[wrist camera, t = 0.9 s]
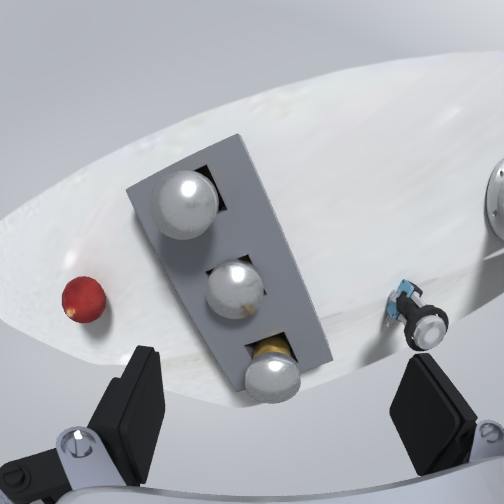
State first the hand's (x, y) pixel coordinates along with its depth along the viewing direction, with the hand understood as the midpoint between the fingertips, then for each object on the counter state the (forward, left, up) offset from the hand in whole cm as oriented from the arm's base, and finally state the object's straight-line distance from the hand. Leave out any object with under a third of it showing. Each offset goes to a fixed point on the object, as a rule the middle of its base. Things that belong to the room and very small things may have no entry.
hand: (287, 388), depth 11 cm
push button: (-11, +16, -27) cm, 33 cm away
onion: (+25, -1, -27) cm, 37 cm away
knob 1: (+6, -6, -23) cm, 25 cm away
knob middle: (+6, +4, -26) cm, 27 cm away
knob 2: (+6, +14, -23) cm, 27 cm away
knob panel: (+6, +4, -27) cm, 28 cm away
